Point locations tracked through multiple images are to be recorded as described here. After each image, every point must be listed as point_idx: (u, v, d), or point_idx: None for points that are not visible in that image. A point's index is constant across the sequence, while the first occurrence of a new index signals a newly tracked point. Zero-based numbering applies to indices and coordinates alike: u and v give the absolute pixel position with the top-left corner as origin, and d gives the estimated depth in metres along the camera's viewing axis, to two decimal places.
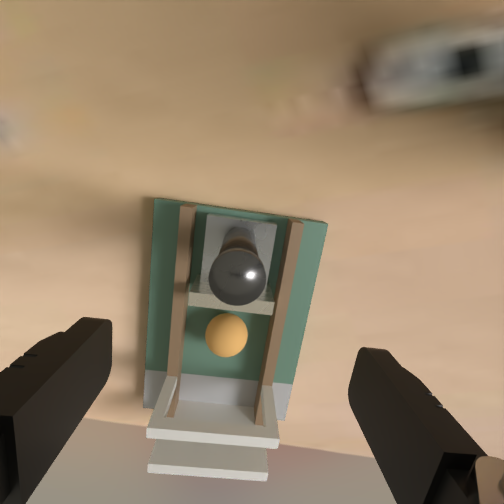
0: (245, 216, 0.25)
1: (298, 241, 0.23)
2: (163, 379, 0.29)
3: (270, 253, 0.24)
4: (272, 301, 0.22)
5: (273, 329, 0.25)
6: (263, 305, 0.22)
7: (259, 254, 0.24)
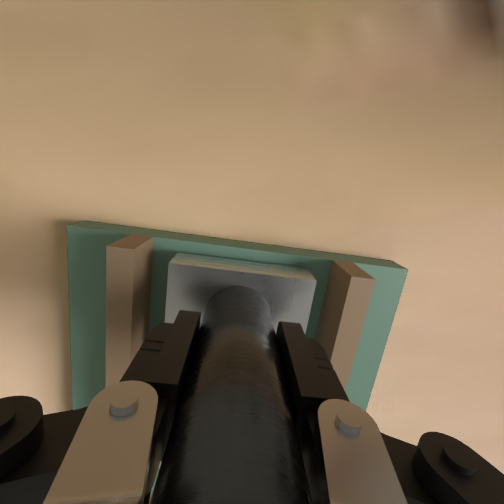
0: (249, 257, 0.13)
1: (361, 314, 0.11)
2: None
3: None
4: None
5: None
6: None
7: None
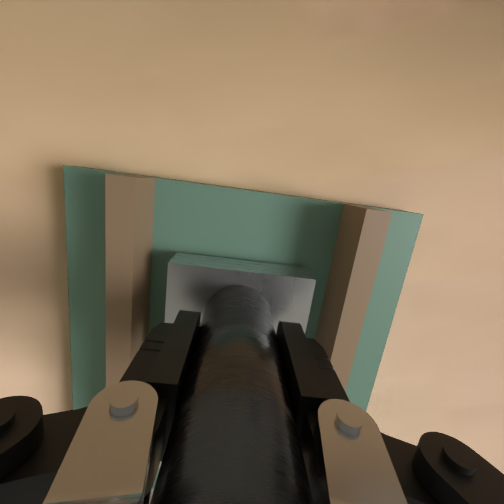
0: (256, 200, 0.12)
1: (376, 252, 0.10)
2: None
3: None
4: None
5: None
6: None
7: None
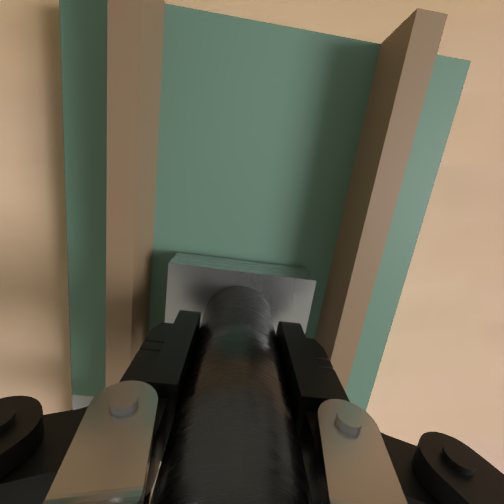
0: (280, 37, 0.10)
1: (426, 69, 0.09)
2: None
3: None
4: None
5: (345, 306, 0.11)
6: None
7: None
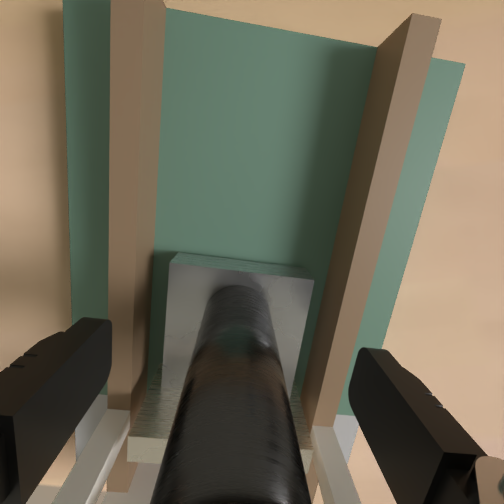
0: (279, 41, 0.11)
1: (421, 72, 0.09)
2: None
3: (299, 334, 0.12)
4: (307, 445, 0.11)
5: (343, 304, 0.11)
6: None
7: (277, 336, 0.12)
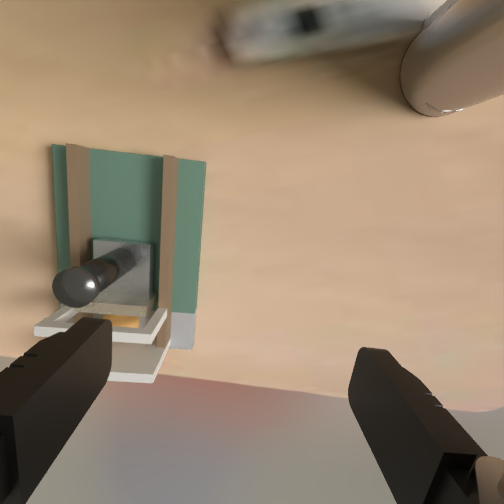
0: (132, 157, 0.29)
1: (171, 172, 0.27)
2: None
3: (147, 267, 0.30)
4: (144, 305, 0.28)
5: (160, 254, 0.29)
6: (137, 309, 0.28)
7: (139, 269, 0.30)
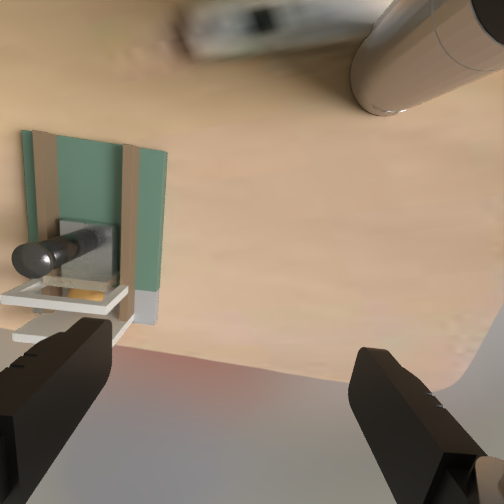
0: (96, 144, 0.31)
1: (130, 160, 0.30)
2: None
3: (110, 247, 0.33)
4: (105, 281, 0.31)
5: (121, 235, 0.32)
6: (98, 284, 0.31)
7: (102, 248, 0.33)
